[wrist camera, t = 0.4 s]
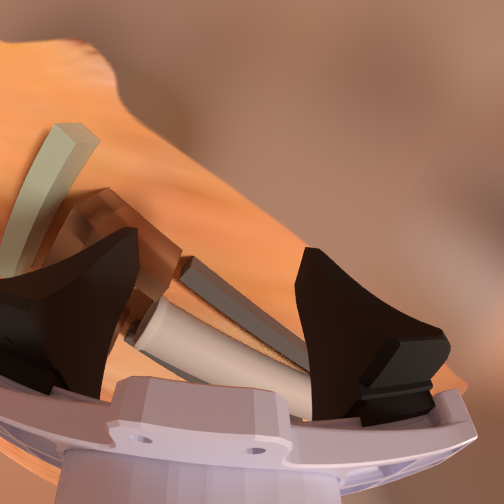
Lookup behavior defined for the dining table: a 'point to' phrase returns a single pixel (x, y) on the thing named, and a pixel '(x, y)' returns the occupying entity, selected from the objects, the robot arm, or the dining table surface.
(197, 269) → the guide rails
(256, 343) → the dining table surface
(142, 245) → the socket block
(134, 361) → the dining table surface
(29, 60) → the dining table surface
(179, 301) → the dining table surface
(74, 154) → the wall
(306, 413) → the tube
